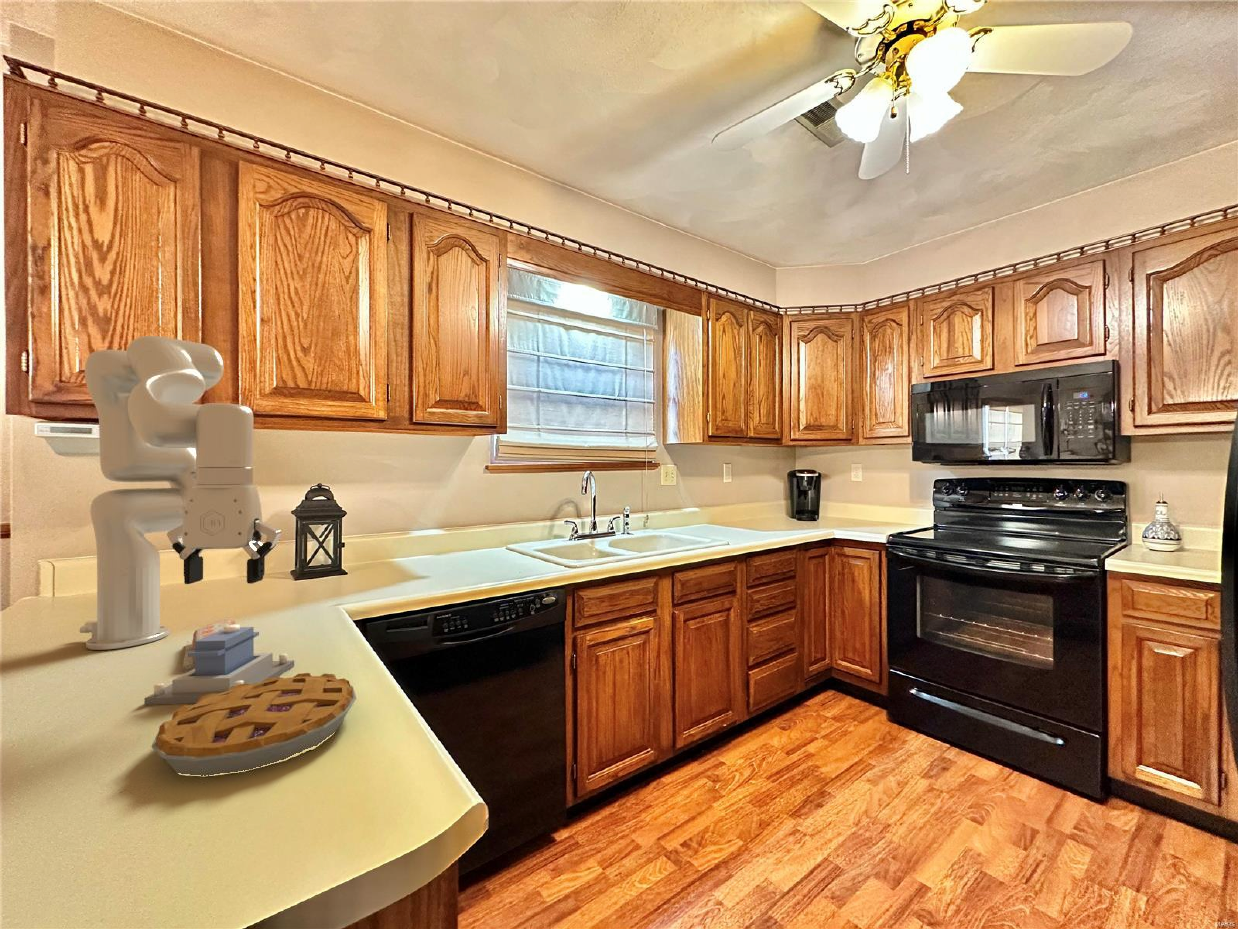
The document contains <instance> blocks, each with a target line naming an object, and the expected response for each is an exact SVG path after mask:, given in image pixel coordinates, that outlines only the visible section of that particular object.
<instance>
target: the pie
mask: <svg viewBox="0 0 1238 929" xmlns="http://www.w3.org/2000/svg"><path fill="white" fill-rule="evenodd" d="M356 695H357V694H356V691H355V689H354V687H353V685H351V684H350V681H349V680H348V679H346V678H345V677H344V678H336V675H335V674H333V673H323V674H321V675H311V674H310V672H304V673H297V674H296V675H294V676H291V677H280V676H279V677H276V678H269V679H266V680H264V681H262V682H260V683H255V684H250V685H249V684H246V683H243V684H240V685H236V686H232V687H231V688H230V690H228V691H225V692H222V693H219V694H214V693H212V694H208V695H204V696H201V697H199V699H198V701H197V703H193V705H188V704H186V705H185V704H184V705H182V706H180V707H179V708H177V709H176V710H175V711H174V712H173V713H172V717H171V719H169V720H167V721H164V722H162V723H161V724H160V725H159V727H158V728H159V729H158V731H157V734H156V736H155V738H154V740H153V742H152V744H151V745H150V746H151V748H152V749H153V751H155V752H156V753H157V754H158V755H159V756H160V757H161V758H162V759H164V760H165V761H166V762H167V763H168V765H171V766H170V767H171V768H172V769H173V771H174V772H175V771H176V772H177V773H181V774H190V775H201V776H203V775H204V776H206V775H208V776H209V775H214V774H220V773H230V772H238V771H243V770H244V771H245V770H249V769H253V768H256V767H261V766H263V765H267V764H270V763H274V762H277V761H279V760H284V759H286V758H288V757H290V756H292V755H294V754H296V753H300V752H302V751H303V750H305V749H308V748H311V747H313V746H317V745H318V744H319V743H321V742H322V741H323V740H325V739H326V738H327V737H329V736H330V735H332V734H333V733H334V732H336V733H337V731H338V730H337V729H339V728H340V726H341V725H340V724H342V723H343V722H342V721H344V720H345V718H346V716H347V714H348V713H349V711H350V710H351V708H352V707H353V705H354V703H355V702H356V700H357V696H356ZM338 727H339V728H338ZM336 730H337V731H336ZM176 772H175V773H176ZM177 773H176V774H177Z"/></svg>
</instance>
